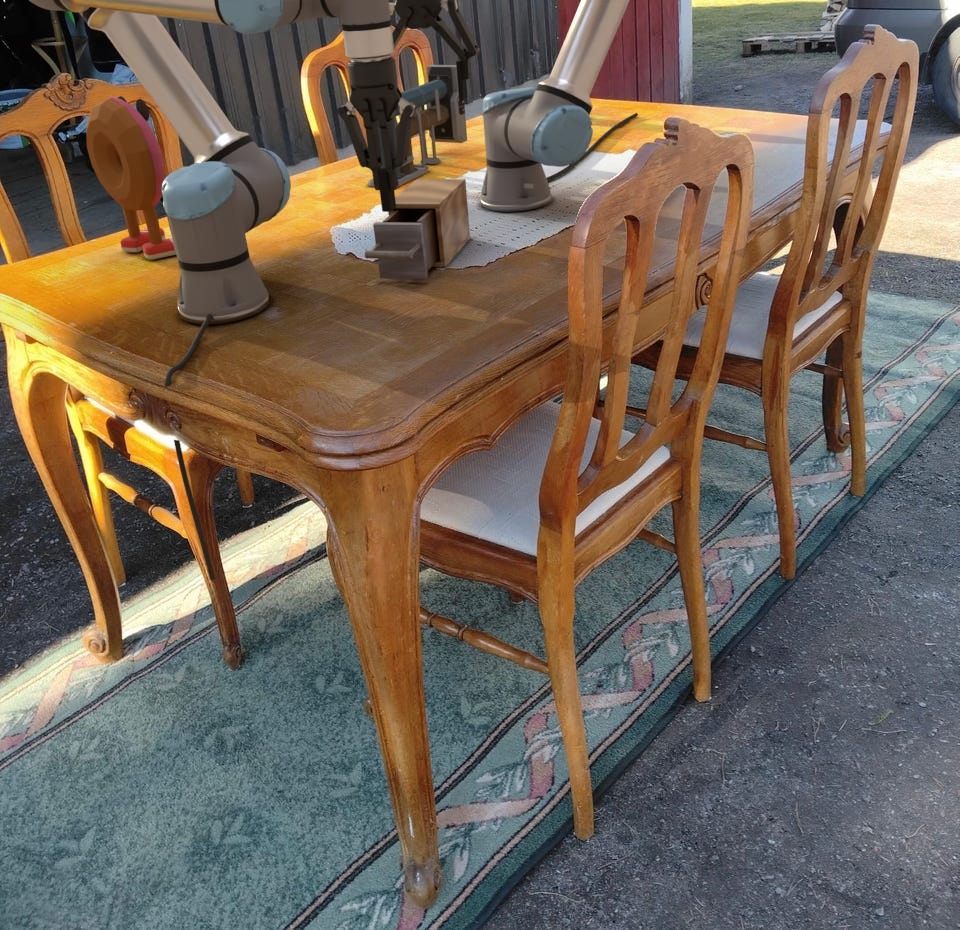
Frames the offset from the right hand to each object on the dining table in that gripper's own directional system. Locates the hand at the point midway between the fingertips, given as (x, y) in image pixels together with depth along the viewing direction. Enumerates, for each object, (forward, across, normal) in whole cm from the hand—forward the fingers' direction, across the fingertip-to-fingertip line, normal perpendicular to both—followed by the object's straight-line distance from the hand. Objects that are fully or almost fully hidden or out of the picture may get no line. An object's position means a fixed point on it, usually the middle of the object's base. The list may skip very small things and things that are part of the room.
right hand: (427, 100), depth 175 cm
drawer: (+26, 0, +17) cm, 31 cm away
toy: (+27, +59, +8) cm, 65 cm away
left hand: (+13, 0, +24) cm, 27 cm away
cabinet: (+27, 0, +5) cm, 27 cm away
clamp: (+27, +24, -57) cm, 67 cm away
